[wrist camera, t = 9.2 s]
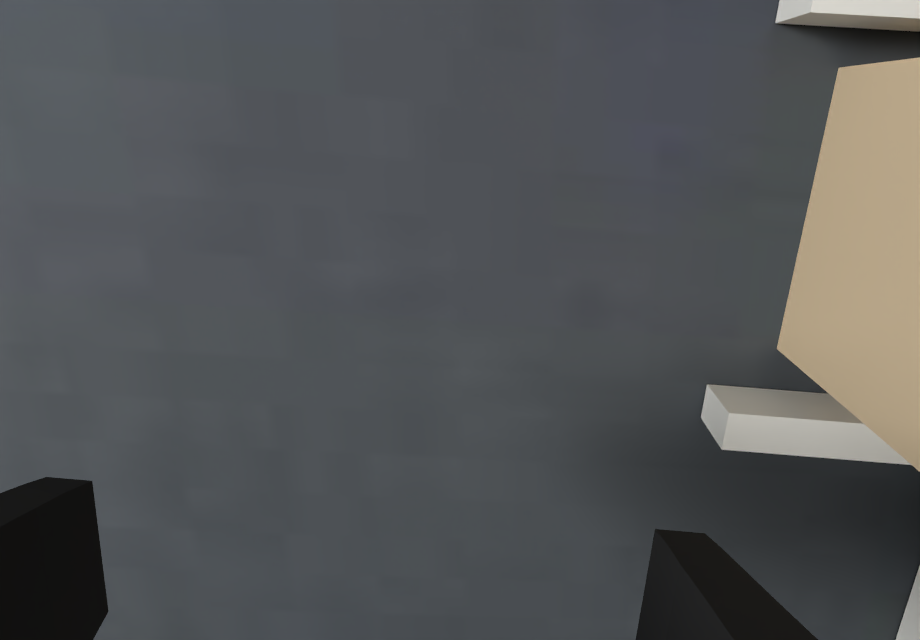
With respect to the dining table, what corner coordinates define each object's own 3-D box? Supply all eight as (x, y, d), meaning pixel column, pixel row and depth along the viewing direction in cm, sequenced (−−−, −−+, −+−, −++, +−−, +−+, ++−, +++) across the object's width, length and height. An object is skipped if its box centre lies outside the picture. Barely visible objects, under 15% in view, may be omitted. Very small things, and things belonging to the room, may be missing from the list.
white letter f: (932, 674, 20) (971, 726, 19) (656, 649, 21) (671, 698, 19) (1170, -4, 15) (1260, -20, 13) (784, -25, 15) (821, -43, 13)
